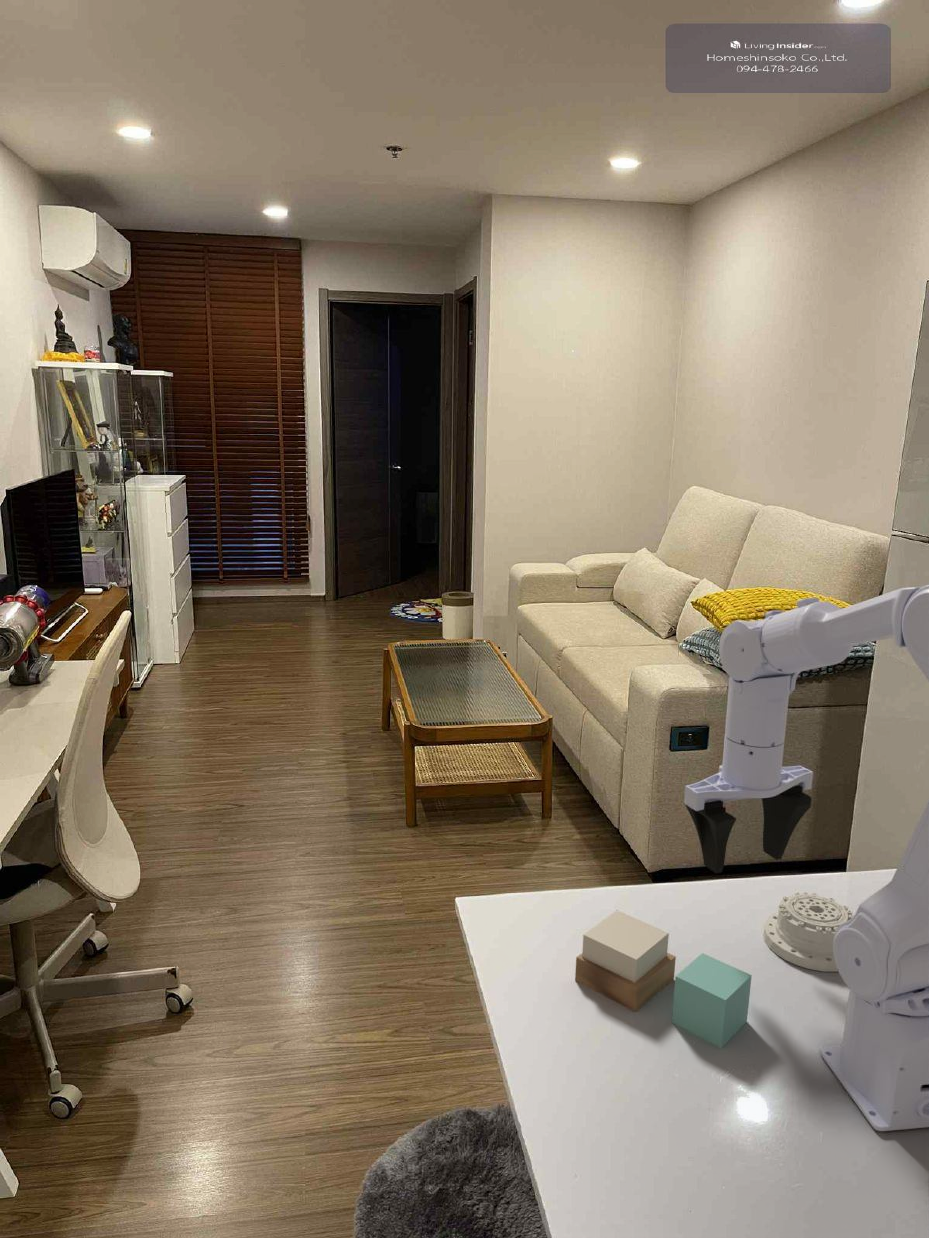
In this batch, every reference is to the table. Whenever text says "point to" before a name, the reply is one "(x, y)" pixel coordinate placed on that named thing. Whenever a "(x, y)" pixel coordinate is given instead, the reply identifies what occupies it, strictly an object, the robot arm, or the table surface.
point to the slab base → (625, 982)
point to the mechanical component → (806, 930)
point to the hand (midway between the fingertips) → (743, 861)
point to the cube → (711, 999)
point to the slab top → (625, 945)
